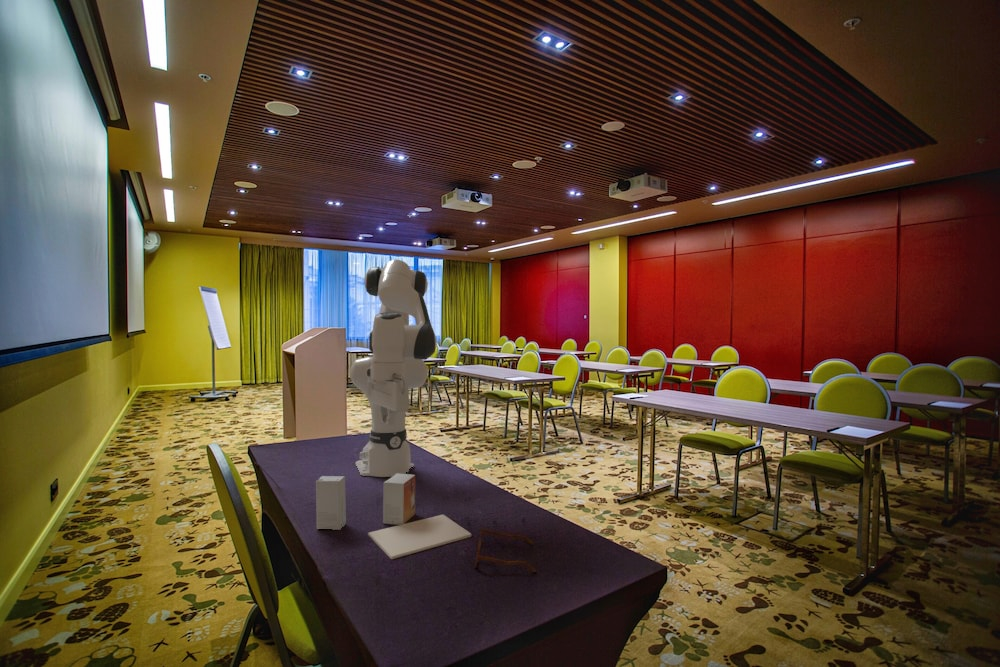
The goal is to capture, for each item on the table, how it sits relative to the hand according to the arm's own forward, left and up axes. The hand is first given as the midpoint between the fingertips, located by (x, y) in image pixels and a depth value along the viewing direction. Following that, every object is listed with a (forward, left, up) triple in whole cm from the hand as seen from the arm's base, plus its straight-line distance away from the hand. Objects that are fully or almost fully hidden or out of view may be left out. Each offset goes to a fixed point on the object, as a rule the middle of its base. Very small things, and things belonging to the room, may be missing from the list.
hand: (387, 423), depth 129 cm
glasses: (+40, +11, -24) cm, 48 cm away
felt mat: (+21, 0, -23) cm, 31 cm away
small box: (+9, 0, -23) cm, 25 cm away
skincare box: (+4, -16, -23) cm, 29 cm away
